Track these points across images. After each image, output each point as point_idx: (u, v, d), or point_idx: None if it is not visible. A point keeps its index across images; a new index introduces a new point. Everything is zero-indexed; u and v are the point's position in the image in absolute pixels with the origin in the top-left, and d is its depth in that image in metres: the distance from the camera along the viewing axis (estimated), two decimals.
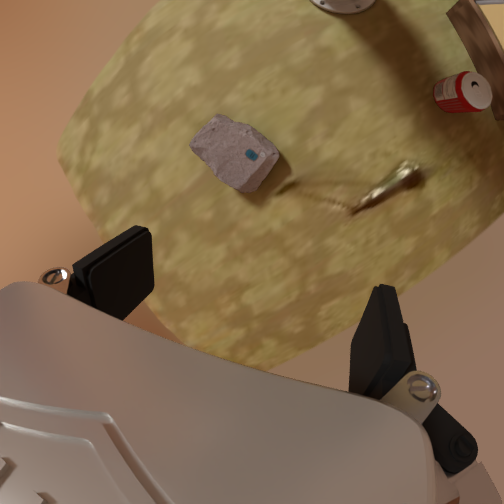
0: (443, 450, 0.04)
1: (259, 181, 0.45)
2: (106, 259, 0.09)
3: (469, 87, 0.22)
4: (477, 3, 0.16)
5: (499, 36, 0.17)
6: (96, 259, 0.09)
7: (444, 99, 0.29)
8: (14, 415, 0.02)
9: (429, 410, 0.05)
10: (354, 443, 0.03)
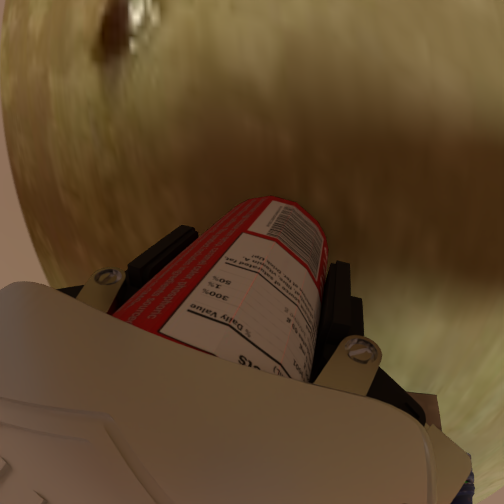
0: None
1: None
2: (162, 258, 0.09)
3: None
4: None
5: None
6: (152, 258, 0.09)
7: (249, 229, 0.09)
8: (14, 415, 0.02)
9: (374, 370, 0.06)
10: (354, 443, 0.03)
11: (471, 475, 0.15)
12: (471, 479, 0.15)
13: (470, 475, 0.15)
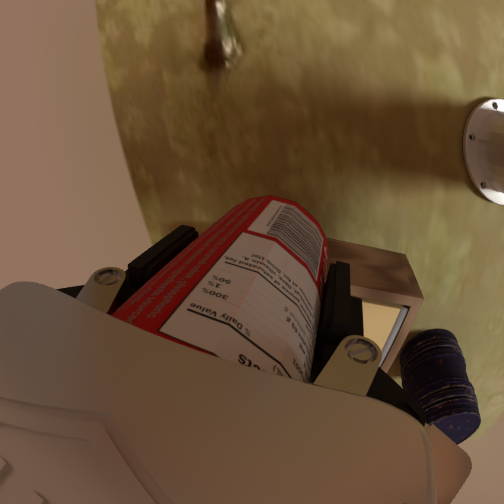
0: None
1: None
2: (162, 259, 0.09)
3: None
4: (403, 309, 0.23)
5: None
6: (152, 258, 0.09)
7: (248, 229, 0.09)
8: (14, 415, 0.02)
9: (374, 370, 0.06)
10: (354, 443, 0.03)
11: (458, 347, 0.30)
12: (459, 351, 0.29)
13: (457, 346, 0.30)
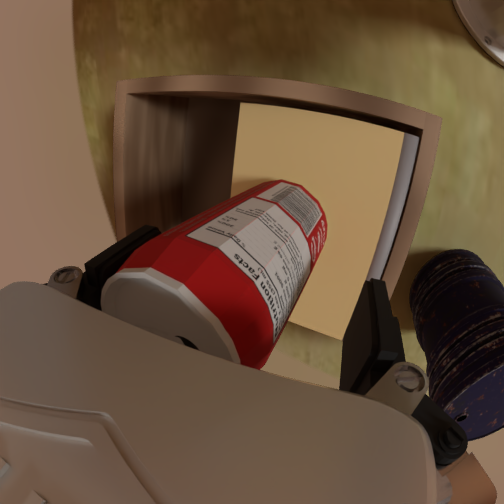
0: (432, 443, 0.04)
1: None
2: (118, 258, 0.09)
3: (183, 328, 0.07)
4: None
5: (308, 119, 0.14)
6: (108, 258, 0.09)
7: (257, 196, 0.12)
8: (14, 415, 0.02)
9: (418, 400, 0.05)
10: (354, 443, 0.03)
11: (494, 274, 0.19)
12: None
13: (493, 273, 0.19)
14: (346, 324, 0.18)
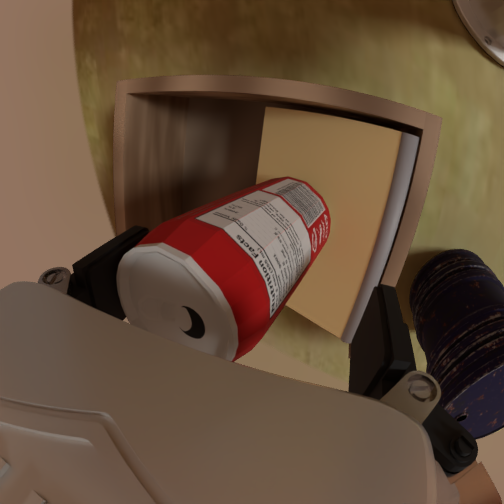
0: (443, 450, 0.04)
1: None
2: (106, 259, 0.09)
3: (189, 298, 0.08)
4: (408, 134, 0.12)
5: (317, 121, 0.16)
6: (96, 259, 0.09)
7: (263, 189, 0.13)
8: (14, 415, 0.02)
9: (429, 410, 0.05)
10: (354, 443, 0.03)
11: (494, 274, 0.19)
12: None
13: (493, 273, 0.19)
14: (345, 322, 0.18)
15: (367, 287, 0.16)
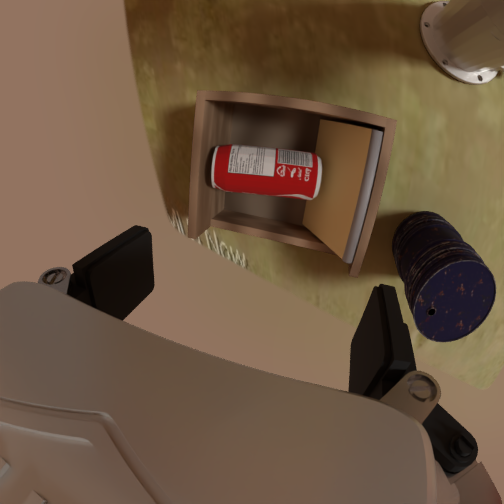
0: (443, 450, 0.04)
1: None
2: (106, 259, 0.09)
3: None
4: (375, 130, 0.23)
5: (339, 127, 0.28)
6: (96, 258, 0.09)
7: (278, 148, 0.31)
8: (14, 415, 0.02)
9: (429, 410, 0.05)
10: (354, 443, 0.03)
11: (453, 227, 0.30)
12: None
13: (452, 226, 0.30)
14: (344, 246, 0.29)
15: (355, 220, 0.27)
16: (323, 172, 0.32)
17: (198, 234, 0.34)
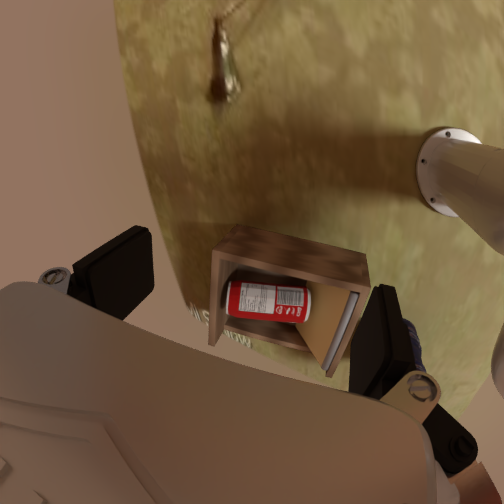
0: (443, 450, 0.04)
1: None
2: (106, 259, 0.09)
3: None
4: (352, 293, 0.33)
5: None
6: (96, 259, 0.09)
7: (277, 286, 0.41)
8: (14, 415, 0.02)
9: (429, 410, 0.05)
10: (354, 443, 0.03)
11: (414, 334, 0.40)
12: (415, 337, 0.39)
13: (413, 333, 0.40)
14: (323, 359, 0.39)
15: (331, 347, 0.37)
16: (312, 299, 0.42)
17: (216, 342, 0.44)
